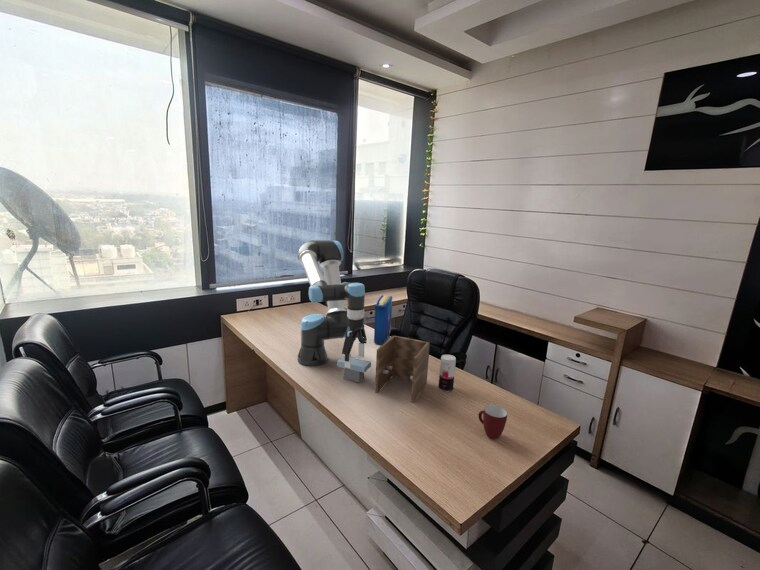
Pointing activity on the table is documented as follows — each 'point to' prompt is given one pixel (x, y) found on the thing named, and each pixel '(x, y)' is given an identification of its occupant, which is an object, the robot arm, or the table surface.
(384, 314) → the book
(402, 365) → the bookcase frame
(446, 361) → the beverage can
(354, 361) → the shelf board
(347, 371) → the riser block
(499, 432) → the mug
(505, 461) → the table surface
